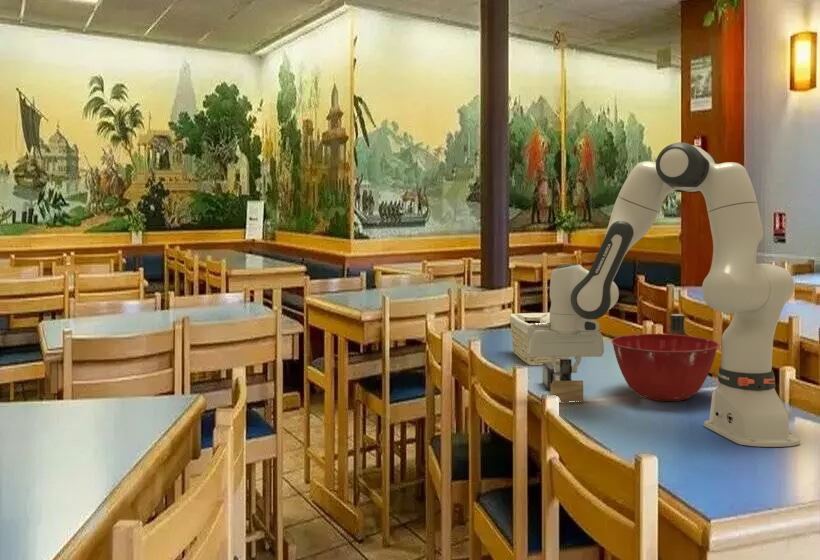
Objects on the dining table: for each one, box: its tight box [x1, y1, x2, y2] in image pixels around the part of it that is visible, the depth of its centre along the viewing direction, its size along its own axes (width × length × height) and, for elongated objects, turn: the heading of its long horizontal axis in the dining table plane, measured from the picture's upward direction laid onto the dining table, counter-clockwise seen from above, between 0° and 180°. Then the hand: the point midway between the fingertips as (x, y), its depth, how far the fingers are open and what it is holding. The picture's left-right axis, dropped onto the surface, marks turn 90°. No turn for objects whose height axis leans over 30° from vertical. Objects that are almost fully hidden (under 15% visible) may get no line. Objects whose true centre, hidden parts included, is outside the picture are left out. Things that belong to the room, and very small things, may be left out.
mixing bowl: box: [610, 333, 720, 402], centre depth 207 cm, size 28×28×15 cm
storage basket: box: [509, 312, 570, 366], centre depth 258 cm, size 24×16×15 cm
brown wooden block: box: [550, 380, 584, 403], centre depth 202 cm, size 4×8×6 cm, turn 88°
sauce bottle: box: [667, 313, 687, 336], centre depth 225 cm, size 6×6×20 cm
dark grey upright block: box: [552, 358, 573, 381], centre depth 208 cm, size 12×4×10 cm, turn 178°
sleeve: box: [542, 362, 560, 391], centre depth 219 cm, size 9×7×6 cm
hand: (565, 372), depth 204 cm, fingers closed on dark grey upright block, 3 cm apart
